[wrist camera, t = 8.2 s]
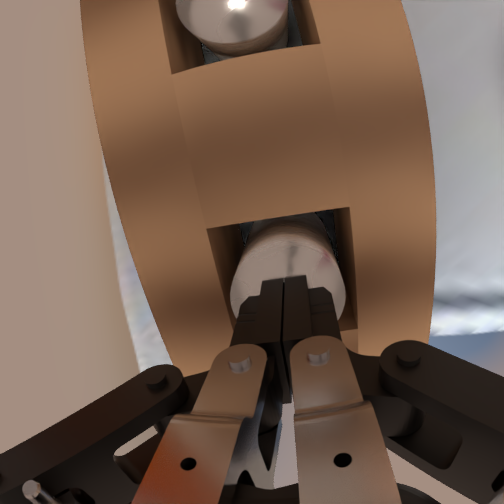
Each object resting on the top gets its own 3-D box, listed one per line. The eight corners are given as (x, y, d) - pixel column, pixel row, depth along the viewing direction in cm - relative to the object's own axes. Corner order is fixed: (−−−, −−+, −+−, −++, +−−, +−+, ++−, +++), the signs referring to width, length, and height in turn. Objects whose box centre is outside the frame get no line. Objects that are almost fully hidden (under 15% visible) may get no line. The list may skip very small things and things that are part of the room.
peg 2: (241, 210, 16) (218, 255, 11) (322, 197, 15) (340, 237, 10) (257, 281, 17) (243, 350, 12) (331, 271, 17) (347, 338, 11)
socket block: (132, -9, 13) (78, -45, 7) (335, -53, 11) (350, -110, 5) (209, 325, 21) (184, 390, 15) (394, 301, 19) (424, 364, 13)
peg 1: (205, 14, 13) (169, -29, 8) (279, -2, 13) (274, -54, 7) (218, 77, 15) (185, 55, 9) (295, 63, 14) (299, 31, 9)
